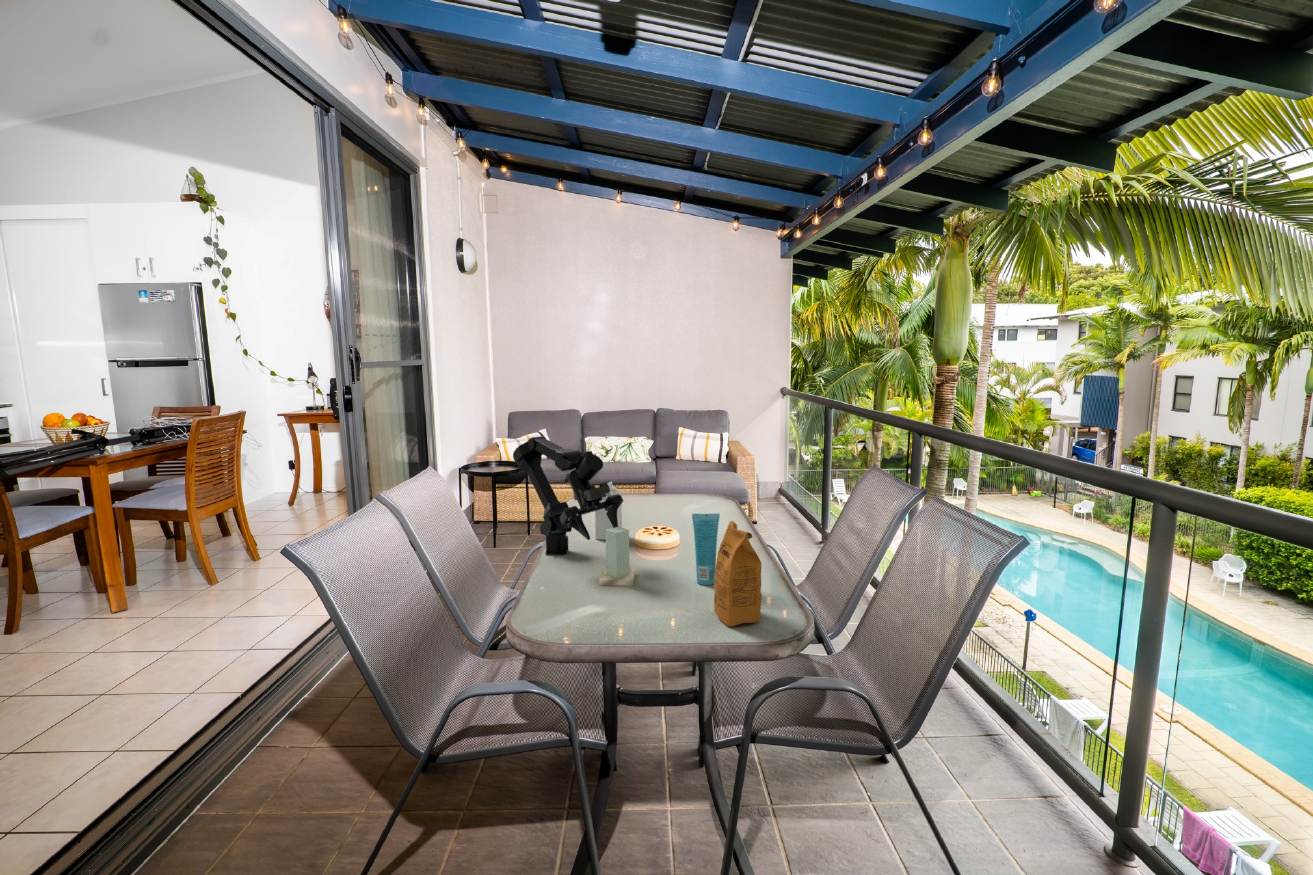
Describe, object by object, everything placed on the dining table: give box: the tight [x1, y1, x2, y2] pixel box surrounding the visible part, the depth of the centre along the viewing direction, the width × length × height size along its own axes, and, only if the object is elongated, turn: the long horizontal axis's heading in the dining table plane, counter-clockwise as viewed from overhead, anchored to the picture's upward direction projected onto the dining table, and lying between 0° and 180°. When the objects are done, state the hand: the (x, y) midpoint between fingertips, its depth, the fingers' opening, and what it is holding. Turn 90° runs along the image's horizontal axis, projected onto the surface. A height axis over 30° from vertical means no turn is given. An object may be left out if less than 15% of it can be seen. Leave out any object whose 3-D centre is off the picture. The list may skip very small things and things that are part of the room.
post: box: [605, 527, 630, 578], centre depth 164 cm, size 4×4×12 cm
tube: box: [691, 512, 720, 586], centre depth 164 cm, size 7×5×19 cm, turn 100°
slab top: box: [598, 568, 636, 586], centre depth 165 cm, size 9×9×2 cm
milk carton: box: [594, 481, 623, 541], centre depth 207 cm, size 7×7×19 cm
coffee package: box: [713, 520, 763, 627], centre depth 141 cm, size 10×12×22 cm
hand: (603, 534), depth 173 cm, fingers open, 9 cm apart
